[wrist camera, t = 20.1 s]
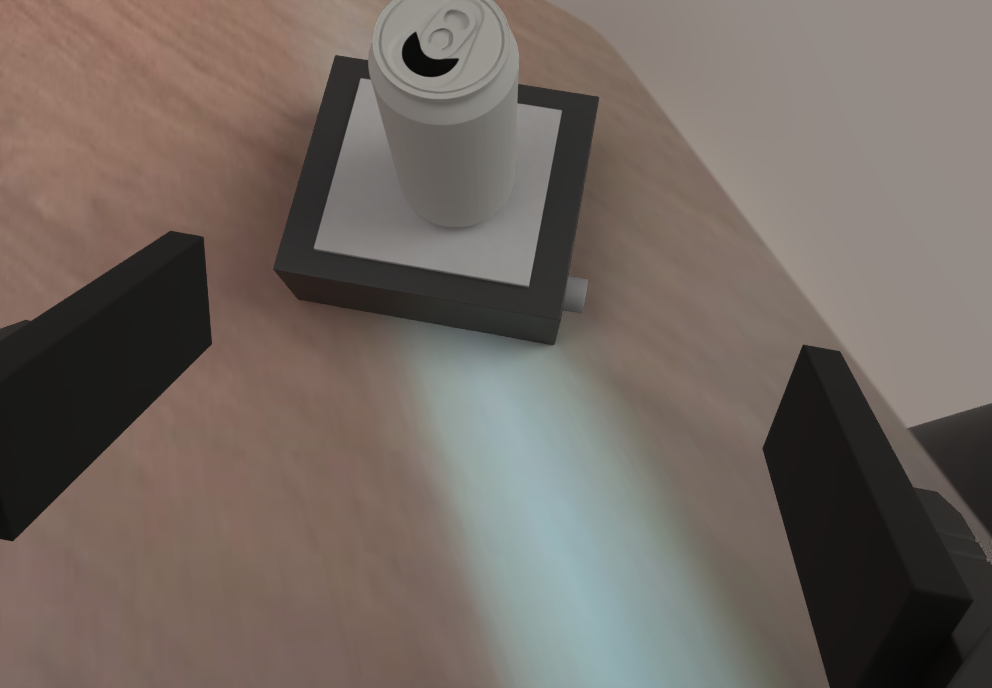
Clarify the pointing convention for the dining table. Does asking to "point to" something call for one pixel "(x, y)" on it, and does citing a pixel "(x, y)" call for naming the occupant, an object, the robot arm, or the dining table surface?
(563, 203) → the cup warmer
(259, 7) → the dining table surface
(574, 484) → the dining table surface
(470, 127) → the beverage can
